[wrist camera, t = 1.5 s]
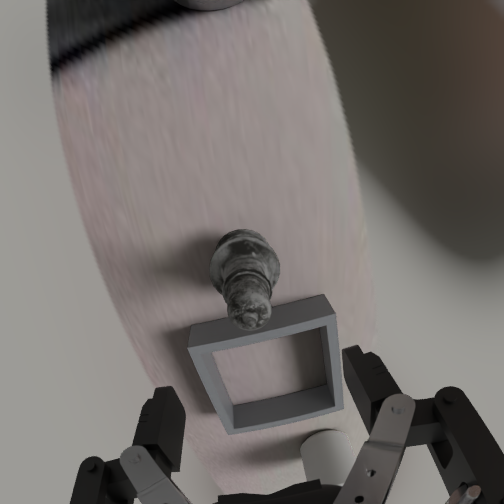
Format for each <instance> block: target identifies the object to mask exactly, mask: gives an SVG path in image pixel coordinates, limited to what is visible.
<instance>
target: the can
mask: <svg viewBox="0 0 504 504" xmlns="http://www.w3.org/2000/svg"><path fill="white" fill-rule="evenodd" d="M300 452H301V456H302V461H303V465H304V470H305V474H306V479H307V482H308V481H312V480H316V479H320V482H321V484H333V485H339V486H343V485H344V483H345V481H346V479H347V477H348V475H349V473H350V471H351V469H352V467H353V465H354V463H355V461H356V457H355V455H354V452H353V449H352V447H351V444H350V441H349V438H348V436H347V435H346V434H345V433H343V432H340V431H336V430H325V431H321V432H318V433H316V434H313V435H312V436H310V437H309V438H308V439H307V440H306V441H305V442H304V443H303V444H302V446H301V448H300Z"/></svg>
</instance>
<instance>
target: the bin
mask: <svg viewBox="0 0 504 504" xmlns="http://www.w3.org/2000/svg"><path fill="white" fill-rule="evenodd" d="M271 311H272V312H271V316H270V319H269V321H268V322H267V323H266V324H265V325H264V326H263V327H261V328H260V329H257V330H251V331H248V330H243V329H240V328H238V327H236V326H235V325H234V324H233V323H232V322H231V320H230V318H229V317H228V318H224V319H219V320H215V321H210V322H205V323H200V324H195V325H191V330H190V335H189V341H188V346H187V349H188V351H189V353H190V356H191V358H192V360H193V363H194V365H195V367H196V369H197V372H198V374H199V376H200V378H201V380H202V383H203V385H204V387H205V389H206V391H207V393H208V396H209V398H210V400H211V402H212V404H213V406H214V408H215V410H216V412H217V414H218V416H219V418H220V420H221V422H222V424H223V426H224V428H225V430H226V432H227V434H228V435H232V434H238V433H244V432H250V431H256V430H261V429H266V428H271V427H276V426H281V425H285V424H290V423H294V422H298V421H302V420H306V419H310V418H314V417H318V416H321V415H325V414H328V413H332V412H335V411H339V410H342V409H344V404H343V388H342V374H341V362H340V351H339V340H338V330H337V321H336V313H335V312H334V310H333V308H332V307H331V305H330V303H329V302H328V300H327V298H326V297H325V295H324V294H323V295H319V296H315V297H311V298H307V299H304V300H300V301H296V302H292V303H288V304H284V305H280V306H276V307H272V308H271ZM318 327H319V328H320V335H321V342H322V349H323V357H324V364H325V372H326V381H327V384H326V385H323V386H319V387H315V388H312V389H308V390H304V391H300V392H296V393H292V394H288V395H283V396H279V397H275V398H270V399H265V400H261V401H256V402H251V403H245V404H240V405H234V406H233V404H232V402H231V399H230V397H229V395H228V392H227V390H226V387H225V385H224V383H223V380H222V378H221V375H220V373H219V370H218V368H217V365H216V363H215V360H214V358H213V355H212V352H215V351H220V350H225V349H230V348H235V347H240V346H244V345H249V344H253V343H258V342H262V341H267V340H271V339H275V338H279V337H283V336H287V335H291V334H295V333H299V332H303V331H307V330H311V329H314V328H318Z"/></svg>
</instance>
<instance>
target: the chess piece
mask: <svg viewBox="0 0 504 504" xmlns="http://www.w3.org/2000/svg"><path fill="white" fill-rule="evenodd" d="M209 271H210V278H211V281H212V283H213V286H214V287H215V288H216V289H217V291H218V292H219V293H220V294H222V295H223V298H224V300H225V302H226V303H227V311H228V316H229V318H230V320H231V322H232V323H233V324H234V325H235V326H236V327H238V328H240V329H243V330H248V331H251V330H257V329H260V328H261V327H263V326H264V325H265V324H266V323H267V322H268V321H269V319H270V316H271V312H272V311H271V303H270V299H271V296H272V289H273V288H274V287H275V285H276V283H277V281H278V278H279V274H280V263H279V260H278V257H277V255H276V253H275V252H274V250H273V249H272V248H271V247H270V246H269V244H268V242H267V241H266V239H265V238H264V237H263V236H261V235H260V234H259V233H257V232H255V231H252V230H247V229H241V230H235V231H232V232H230V233H228V234H227V235H225V236H224V237H223V238H222V239H221V240H220V242H219V243H218V245H217V248H216V252H215V253H214V255H213V257H212V259H211V263H210V269H209Z"/></svg>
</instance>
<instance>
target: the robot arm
mask: <svg viewBox="0 0 504 504" xmlns="http://www.w3.org/2000/svg"><path fill="white" fill-rule="evenodd" d="M174 1H175V2H177V3H178V4H180V5H182V6H185V7H187V8H190V9H196V10H218V9H224V8H228V7H231V6H234V5H236V4H238V3H240V2H242V1H244V0H174ZM342 359H343V371H344V378H345V381H346V384H347V387H348V389H349V391H350V393H351V395H352V398H353V400H354V402H355V404H356V407H357V409H358V411H359V413H360V415H361V418H362V420H363V422H364V424H365V427H366V429H367V431H368V434H369V435H370V437H369V439H368V441H365V442H364V444H363V446H362V448H361V450H360V452H359V454H358V456H357V458H356V461H355V463H354V465H353V467H352V469H351V471H350V473H349V475H348V477H347V479H346V481H345V483H344V485H343V486H339V485H333V484H321V482H320V479H316V480H312V481H308V482H303V483H299V484H294V485H292V486H290V487H287V488H285V489H282V490H280V491H277V492H275V493H272V494H269V495H261V494H247V493H239V494H230V495H220V496H218V502H216V503H213V504H385V503H386V500H387V498H388V496H389V493H390V490H391V488H392V486H393V482H394V480H395V477H396V475H397V472H398V469H399V466H400V464H401V461H402V458H403V455H404V452H405V449H406V447H409V446H416V445H423V444H427V447H428V449H429V451H430V453H431V455H432V457H433V459H434V462H435V464H436V466H437V468H438V470H439V472H440V475H441V477H442V479H443V481H444V484H445V486H446V489H447V490H448V493H449V496H450V498H449V499H448V500H447V502H446V503H445V504H504V454H503V452H502V450H501V449H500V447H499V445H498V444H497V442H496V441H495V439H494V437H493V436H492V434H491V433H490V431H489V429H488V428H487V426H486V425H485V423H484V422H483V420H482V419H481V417H480V416H479V414H478V413H477V411H476V410H475V408H474V407H473V405H472V404H471V402H470V401H469V399H468V398H467V397H466V395H465V394H464V392H463V391H462V390H461V389H459V388H456V387H451V386H450V387H444V388H443V389H440V390H439V391H438V392H437V393H436V395H435V397H434V398H428V399H420V400H415V399H412V398H411V397H410V396H408V395H406V394H403V393H402V392H401V390H400V388H399V387H398V385H397V384H396V382H395V381H394V379H393V377H392V376H391V374H390V373H389V372H388V369H387V368H386V366H384V363H383V362H382V360H381V359H380V357H379V356H377V355H376V354H374V353H372V352H368V353H365V354H363V352H362V350H361V349H360V347H359V346H358V345H355V346H351V347H348V348H345V349H342ZM185 420H186V414H185V410H184V407H183V405H182V403H181V401H180V400H179V398H178V396H177V394H176V392H175V390H174V388H173V387H172V386H166V387H158V388H156V389H155V392H154V396H153V399H148V400H147V401H146V403H145V404H144V405H143V407H142V410H141V414H140V417H139V423H138V425H137V429H136V432H135V436H134V440H133V444H132V446H131V447H129V448H127V449H125V450H124V451H123V453H122V454H121V456H120V458H118V459H115V460H111V461H107V462H104V461H103V460H102V459H101V458H99V457H96V456H92V457H89V458H87V459H85V460H84V461H83V462H82V463H81V465H80V468H79V471H78V474H77V478H76V482H75V485H74V489H73V493H72V497H71V501H70V504H133V503H134V498H137V497H138V499H139V500H140V502H141V503H142V504H192V503H191V502H190V501H189V500H188V498H187V497H186V496H185V495H184V494H183V492H181V490H180V489H179V488H178V486H177V485H176V484H175V483H174V482H173V480H172V479H171V472H180V463H181V454H182V445H183V437H184V429H185Z"/></svg>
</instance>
